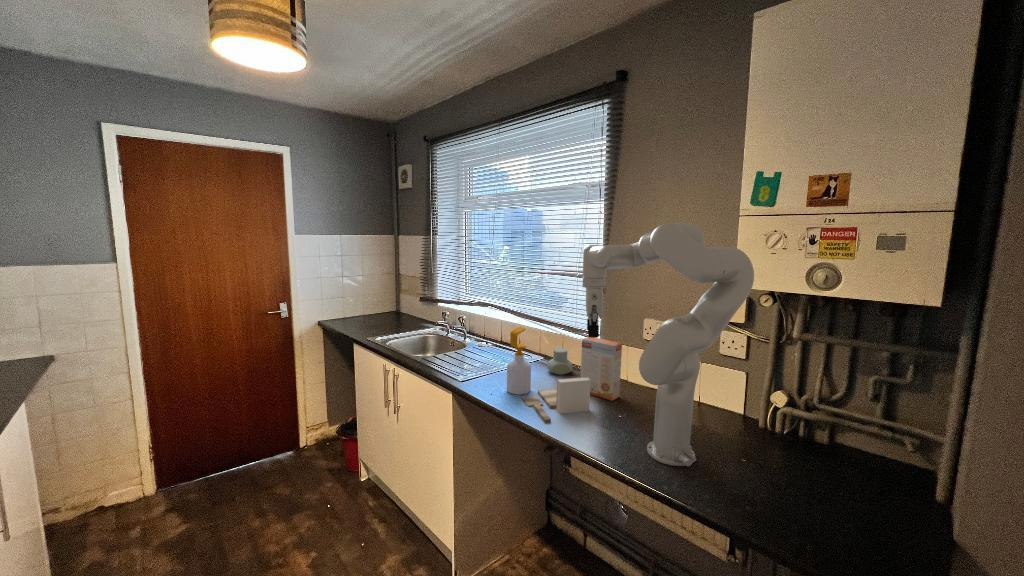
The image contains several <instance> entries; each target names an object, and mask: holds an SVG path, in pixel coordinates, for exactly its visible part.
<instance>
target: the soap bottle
mask: <svg viewBox="0 0 1024 576" xmlns="http://www.w3.org/2000/svg"><path fill="white" fill-rule="evenodd" d="M523 332H526V328H525V327H522V326H518V327H516V328H515V329H512V330H511V332H510V336H509V337H510V338H509V339H510V341H509V342H510V346H511V347H513V348H515V350H516V351H515V353H514V358H513V359H511V360H510V361H509V362H508V363H507V365H506V391H507V392H508V393H509V394H512V395H518V396H522V395H527V394H528V393H530V392H531V389H532V388H531V384H532V383H531V381H532V378H531V375H532V366H531V363H530V362H529V361H528V360H527V359H525V358H524V357H525V356H524V352H522V350H524V349H525V348H527V345H526V344H523V343H518V336H519V334H520V333H523Z"/></svg>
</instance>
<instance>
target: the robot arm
mask: <svg viewBox="0 0 1024 576" xmlns="http://www.w3.org/2000/svg"><path fill="white" fill-rule="evenodd" d="M704 243H705V235H704V232H703V230H702V229H701V228H700V227H699V226H698V225H696V224H693V223H690V222H664V223H661V224H660V225H658V226H657V227H655V228H654V230H653V231H650V232H646V233H644V234H643V235H642V236H641V237H640V239H639V241H637V242H633V243H628V244H607V245H606V244H605V245H602V244H587V245H585V246H584V247H583V252H582V254H583V255H582V256H583V257H582V258H583V260H582V288H585V310H586V311H585V312H586V316H587V317H586V318H587V321H586V322H587V323H586V330H587V332H588V334H587V335H588V337H593V338H599V335H600V334H599V330H600V324H599V318H600V319H603V310H604V308H603V305H604V303H603V302H604V301H603V300H604V295H603V294H604V293H603V289H606V285H607V270H621V269H622V270H623V269H631V268H637V267H641V266H646V265H650V264H651V265H652V264H653V263H658V262H663V261H664V262H665V263H667V264H668V265H670V266H671V267H672V268H673V269H674V270H675V271H677V272H679V273H680V275H682V276H683V277H685V278H687V279H688V280H690V281H691V282H694V283H699V284H708V283H713V284H712V285H711V286H710V287H709V288H708V289H707V290H706V291H705V292H704V293H703V294H702V295H701V297H700V298H698V301H697V302H696V304H695V305H694V307H693V308H692V309H691V311H690V312H688V313H687V314H683V315H679V316H678V315H677V316H674V317H672V318H668V319H667V320H665V321H664V322H662V324H661V325H659V327H658V328H657V329H656V331H655V333H654V334H653V336H652V337H651V339H650V340H649V342H648V343H647V345H646V347H645V348H644V350H643V352H642V353H641V354H640V357H639V362H638V370H639V371H638V372H639V374H640V376H641V378H642V379H643V380H644V381H645V382H646V383H648V384H650V385H653V386H657V388H656V389H657V390H656V395H655V396H656V397H655V408H654V425H653V436H652V437H653V440H652V441H649V442H648V443H647V446H646V451H647V454H648V455H649V456H650V457H651V458H652V459H654V460H655V461H657V462H659V463H661V464H665V465H669V466H673V467H674V466H675V467H685V466H686V467H690V466H692V464H693V463H694V462H696V461H697V457H696V454H695V451H694V450H693V449H692V448H693V446H692V445H691V434H692V423H693V411H694V410H693V409H694V401H695V399H694V398H695V390H696V386H697V381H698V377H699V374H700V369H701V359H700V356H699V353H698V352H702V351H705V350H707V349H709V348H711V346H713V344H714V343H715V342H716V340H717V339H718V338H719V336H720V335H721V333H722V332H723V331H724V330H725V328H726V327H727V326H728V324H729V323H730V321H731V320H732V318H733V317H734V316H735V314H736V313H737V312H738V310H739V309H740V308H741V307H742V305H743V304H744V302H745V301H746V300H747V298H748V296H749V295H750V293H751V291H752V289H753V286H754V281H755V271H754V265H753V263H752V261H751V259H750V257H749V256H748V255H747V254H746V253H745V251H742V250H741V249H739V248H737V247H734V246H727V245H724V246H723V245H722V246H721V245H720V246H719V245H718V246H715V245H714V246H704Z"/></svg>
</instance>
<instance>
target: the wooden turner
mask: <svg viewBox="0 0 1024 576" xmlns="http://www.w3.org/2000/svg"><path fill="white" fill-rule="evenodd" d="M522 401H523V402H524V404H525V405H526V407H527V408H531V407H532V408H533V409H534V410H535V412H536V413H537V415H538V416H539V417H540V419H541V420H542V421H543V422H544V424H549V423H551V422H552V419H551V417H550V416H549V415H548V413H546V411H545V410H544V408H543V407H542V406H544V403H543V402H542V401H541V400H540V398H539V397H538V396H537V395H536V396H527V397H522Z"/></svg>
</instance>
